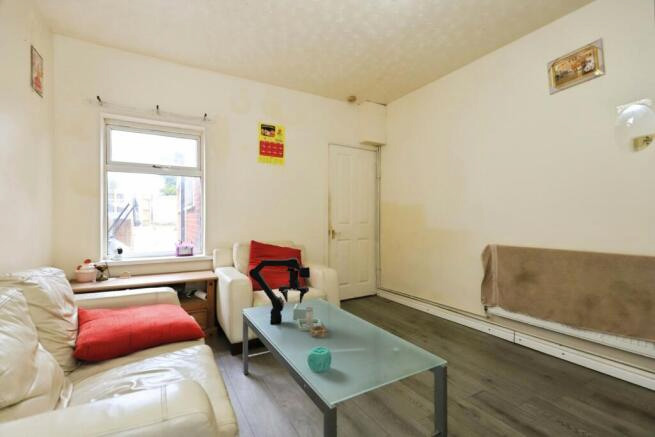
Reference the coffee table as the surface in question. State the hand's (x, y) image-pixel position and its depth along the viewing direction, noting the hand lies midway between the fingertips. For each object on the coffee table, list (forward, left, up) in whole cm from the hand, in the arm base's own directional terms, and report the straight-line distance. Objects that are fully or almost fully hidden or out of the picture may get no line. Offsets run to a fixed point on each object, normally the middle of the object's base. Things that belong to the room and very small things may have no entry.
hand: (293, 302), depth 183 cm
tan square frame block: (+12, -21, -13) cm, 27 cm away
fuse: (+9, -8, -12) cm, 17 cm away
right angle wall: (+8, +11, -14) cm, 20 cm away
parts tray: (+9, -8, -13) cm, 18 cm away
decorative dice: (+6, -56, -13) cm, 58 cm away
